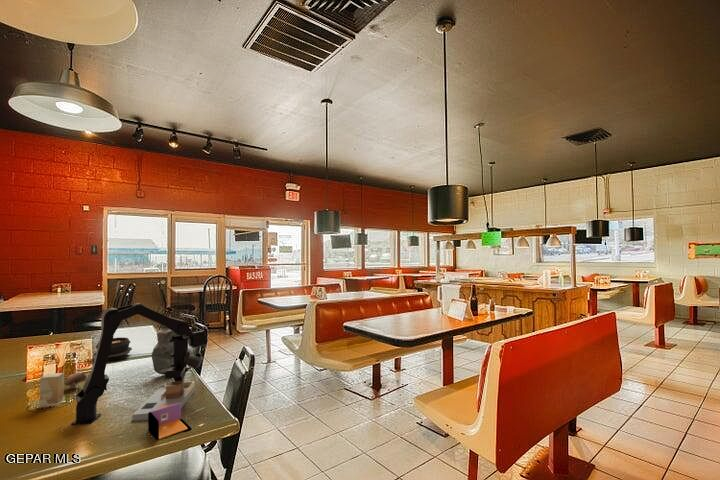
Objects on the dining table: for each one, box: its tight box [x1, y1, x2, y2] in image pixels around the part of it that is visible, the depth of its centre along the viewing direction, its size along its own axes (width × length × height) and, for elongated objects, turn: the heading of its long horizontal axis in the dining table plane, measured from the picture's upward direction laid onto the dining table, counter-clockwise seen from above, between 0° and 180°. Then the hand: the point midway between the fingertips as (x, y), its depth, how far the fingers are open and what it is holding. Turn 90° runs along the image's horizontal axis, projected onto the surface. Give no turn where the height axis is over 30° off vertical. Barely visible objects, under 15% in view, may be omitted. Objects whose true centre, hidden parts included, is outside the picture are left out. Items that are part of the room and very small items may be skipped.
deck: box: [131, 380, 196, 421], centre depth 137 cm, size 24×14×4 cm, turn 9°
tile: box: [156, 403, 175, 410], centre depth 130 cm, size 5×5×2 cm
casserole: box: [93, 337, 133, 359], centre depth 204 cm, size 25×19×8 cm
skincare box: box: [38, 372, 65, 408], centre depth 138 cm, size 6×4×12 cm
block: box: [165, 380, 185, 399], centre depth 139 cm, size 5×5×5 cm
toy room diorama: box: [147, 403, 193, 441], centre depth 117 cm, size 12×12×7 cm
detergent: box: [151, 325, 175, 375], centre depth 172 cm, size 13×7×25 cm, turn 124°
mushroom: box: [64, 372, 87, 390], centre depth 155 cm, size 8×8×6 cm
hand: (180, 387), depth 146 cm, fingers closed
